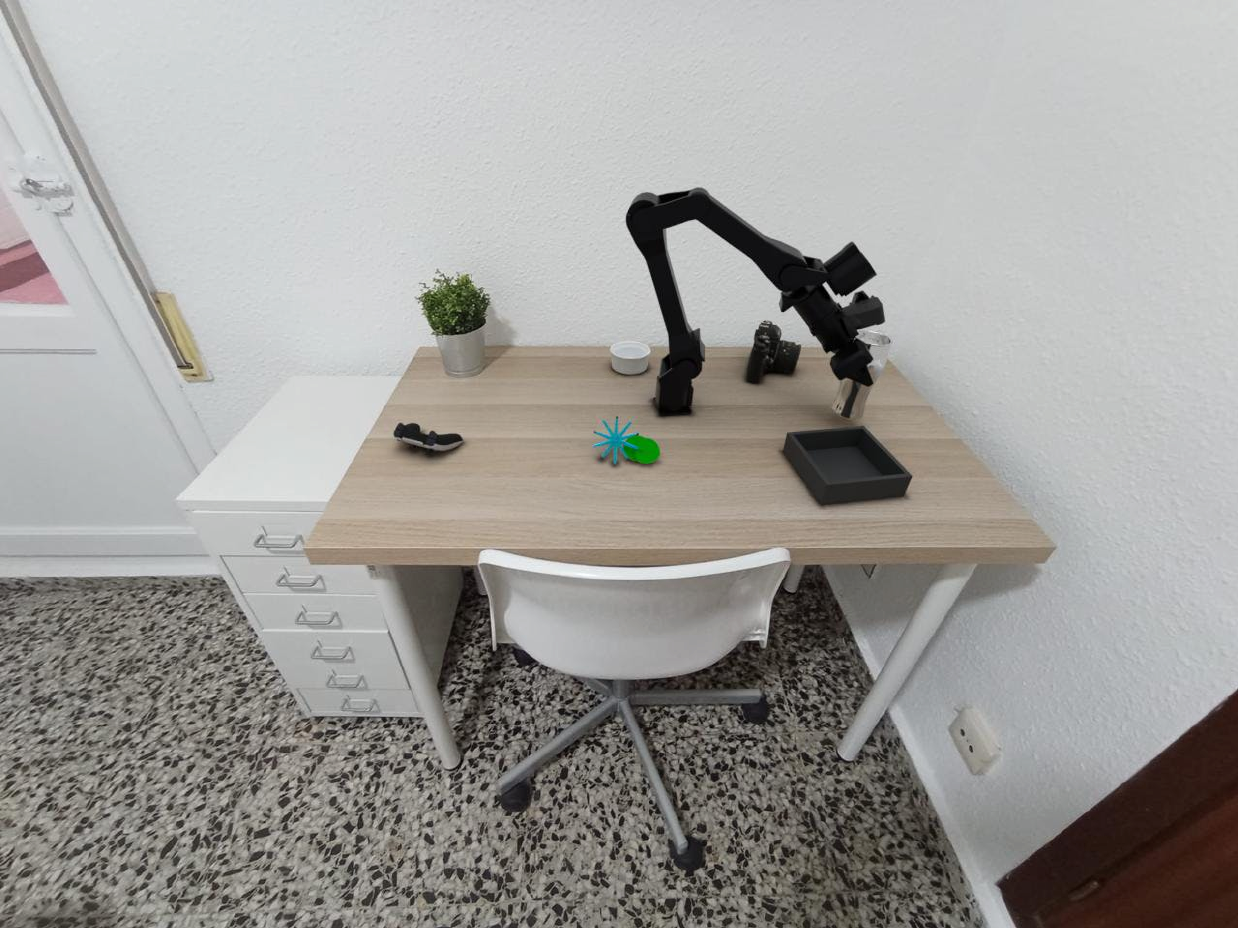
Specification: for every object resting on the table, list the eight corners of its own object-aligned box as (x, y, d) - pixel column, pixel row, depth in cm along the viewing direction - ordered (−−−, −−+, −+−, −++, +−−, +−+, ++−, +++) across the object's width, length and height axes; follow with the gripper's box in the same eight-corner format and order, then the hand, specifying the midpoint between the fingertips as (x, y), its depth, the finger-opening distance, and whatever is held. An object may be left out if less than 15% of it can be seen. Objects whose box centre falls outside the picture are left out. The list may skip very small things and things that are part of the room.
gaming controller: (408, 447, 100) (383, 439, 93) (415, 424, 100) (391, 414, 94) (459, 460, 97) (437, 453, 90) (466, 436, 97) (444, 427, 91)
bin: (820, 505, 86) (827, 484, 84) (782, 451, 98) (787, 432, 95) (904, 496, 89) (913, 476, 86) (857, 445, 100) (863, 425, 98)
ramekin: (612, 356, 126) (613, 339, 124) (651, 360, 126) (652, 342, 123) (606, 374, 119) (607, 356, 117) (647, 378, 119) (648, 360, 116)
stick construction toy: (585, 453, 92) (601, 409, 92) (586, 452, 99) (601, 411, 99) (652, 478, 93) (668, 434, 92) (648, 475, 100) (663, 434, 99)
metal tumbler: (873, 418, 103) (902, 344, 94) (842, 422, 101) (869, 347, 92) (849, 400, 108) (875, 328, 100) (820, 404, 106) (844, 331, 98)
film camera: (806, 389, 116) (818, 345, 110) (748, 387, 116) (756, 344, 110) (787, 352, 131) (796, 311, 125) (735, 350, 130) (742, 310, 124)
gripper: (878, 302, 83) (926, 374, 89) (852, 265, 98) (894, 328, 104) (812, 346, 88) (861, 411, 94) (797, 304, 103) (840, 362, 109)
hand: (866, 375), depth 100 cm, fingers closed on metal tumbler, 7 cm apart
